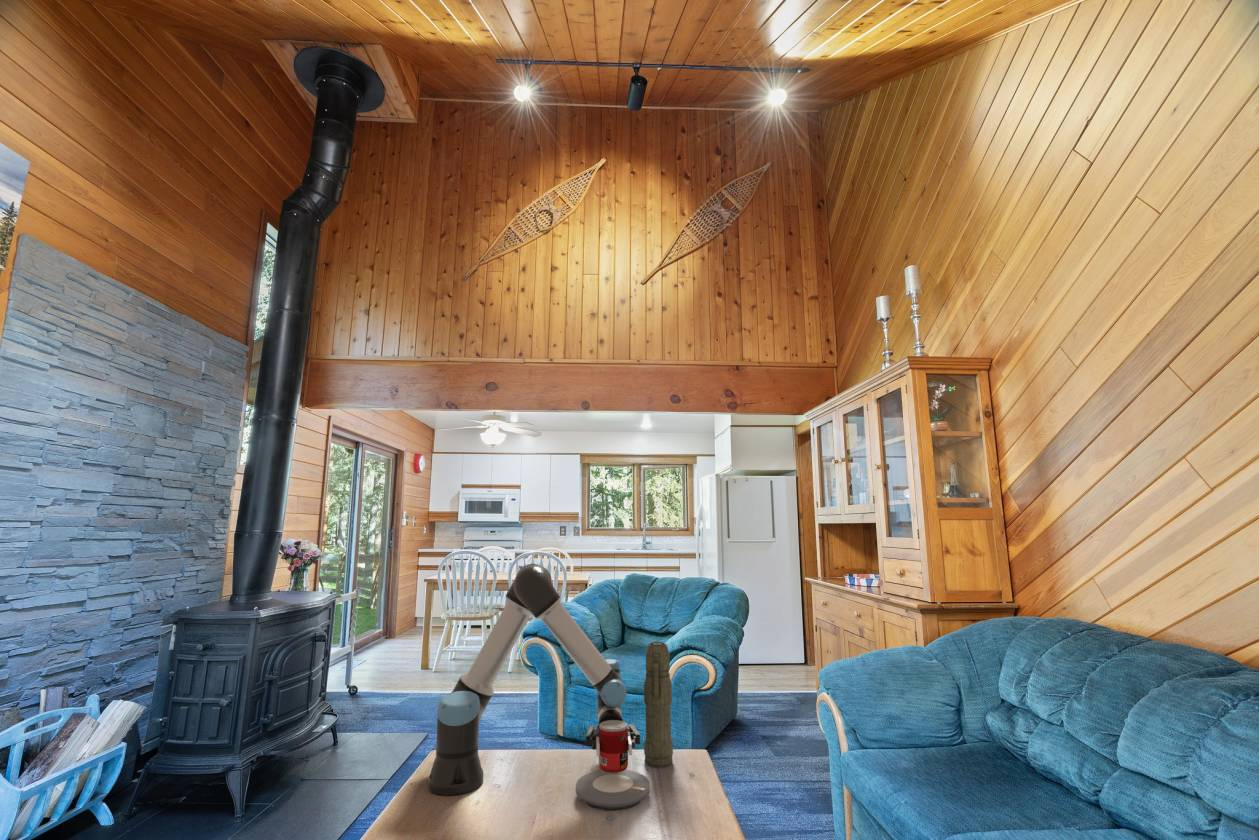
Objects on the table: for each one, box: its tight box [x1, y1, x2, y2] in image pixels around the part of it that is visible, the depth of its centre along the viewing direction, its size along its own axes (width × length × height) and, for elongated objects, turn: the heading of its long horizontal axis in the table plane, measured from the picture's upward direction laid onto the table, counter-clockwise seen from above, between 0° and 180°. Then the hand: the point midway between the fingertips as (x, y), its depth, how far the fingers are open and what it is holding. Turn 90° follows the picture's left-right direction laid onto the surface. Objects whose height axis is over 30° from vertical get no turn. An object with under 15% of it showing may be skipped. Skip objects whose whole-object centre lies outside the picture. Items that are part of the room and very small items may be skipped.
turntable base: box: [584, 801, 642, 812], centre depth 163 cm, size 16×16×2 cm
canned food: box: [598, 720, 629, 773], centre depth 165 cm, size 8×8×11 cm
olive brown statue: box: [643, 641, 674, 769], centre depth 189 cm, size 9×12×35 cm
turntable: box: [575, 769, 651, 807], centre depth 164 cm, size 20×20×2 cm
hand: (614, 750), depth 161 cm, fingers closed on canned food, 8 cm apart
